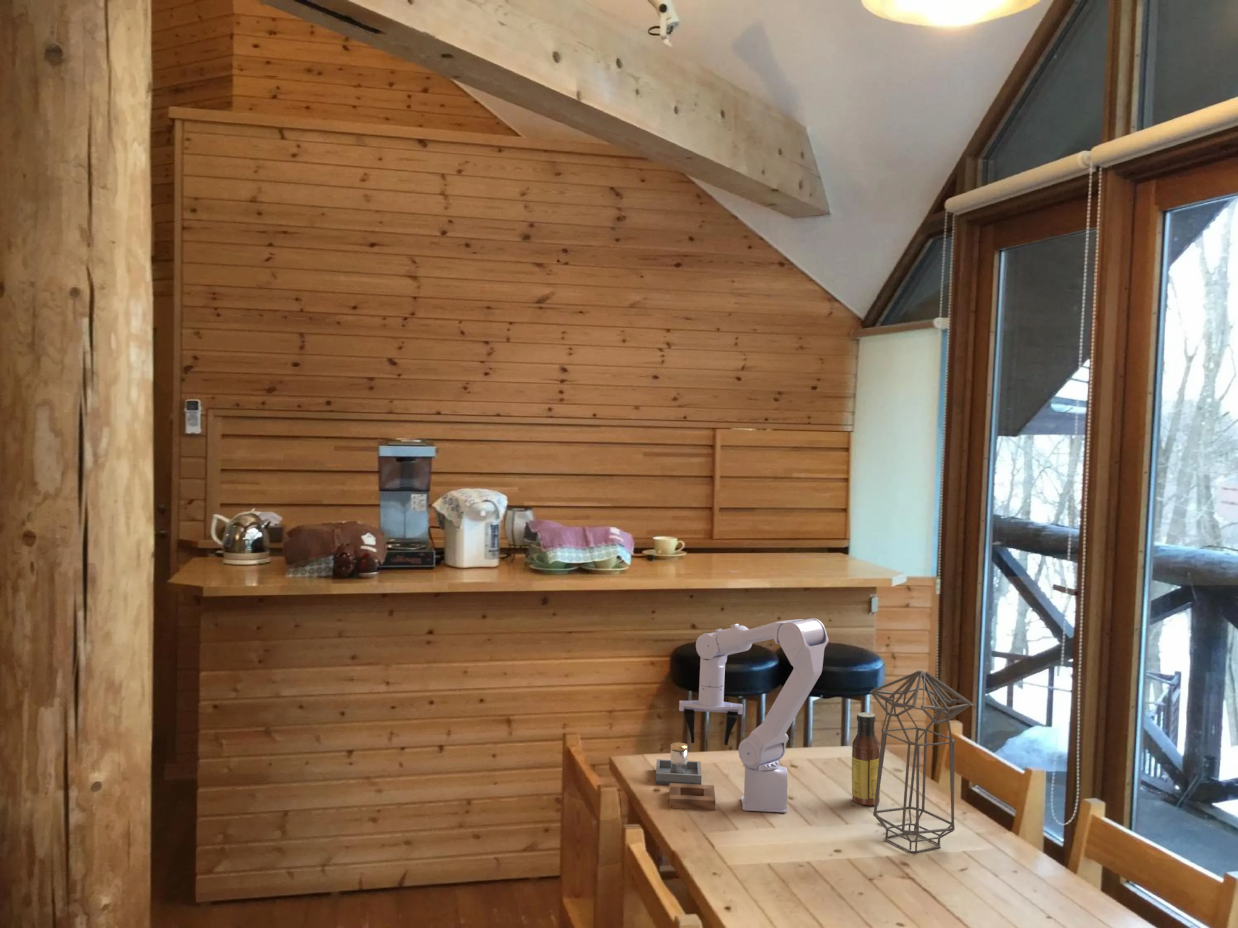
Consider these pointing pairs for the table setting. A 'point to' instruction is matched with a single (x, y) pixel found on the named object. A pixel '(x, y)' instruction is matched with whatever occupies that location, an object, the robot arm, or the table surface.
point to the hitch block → (692, 796)
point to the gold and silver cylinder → (678, 758)
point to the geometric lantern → (917, 750)
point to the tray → (666, 777)
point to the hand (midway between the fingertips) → (709, 742)
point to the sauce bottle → (865, 761)
